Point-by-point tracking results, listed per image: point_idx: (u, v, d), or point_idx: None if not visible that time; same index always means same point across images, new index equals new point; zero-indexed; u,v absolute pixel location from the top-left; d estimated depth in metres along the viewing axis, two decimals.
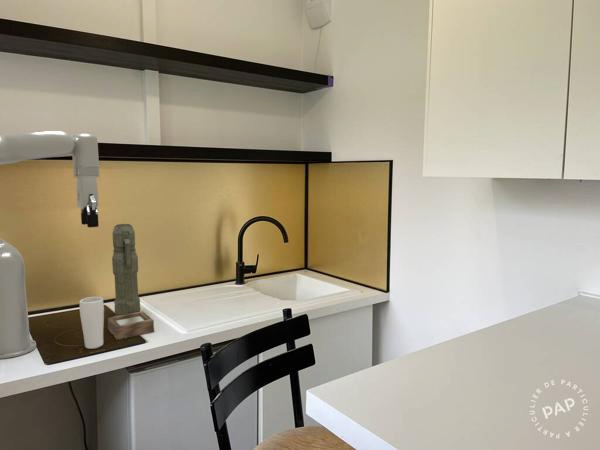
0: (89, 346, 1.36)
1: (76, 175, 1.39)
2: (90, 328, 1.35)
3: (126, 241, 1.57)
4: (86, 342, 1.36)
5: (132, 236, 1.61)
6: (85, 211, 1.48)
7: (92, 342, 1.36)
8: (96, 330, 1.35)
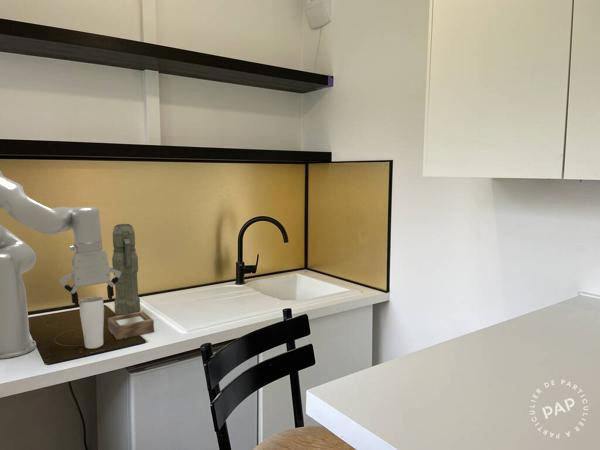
0: (89, 346, 1.36)
1: (97, 250, 1.33)
2: (90, 328, 1.35)
3: (126, 241, 1.57)
4: (86, 342, 1.36)
5: (132, 236, 1.61)
6: (75, 291, 1.33)
7: (92, 342, 1.36)
8: (96, 330, 1.35)
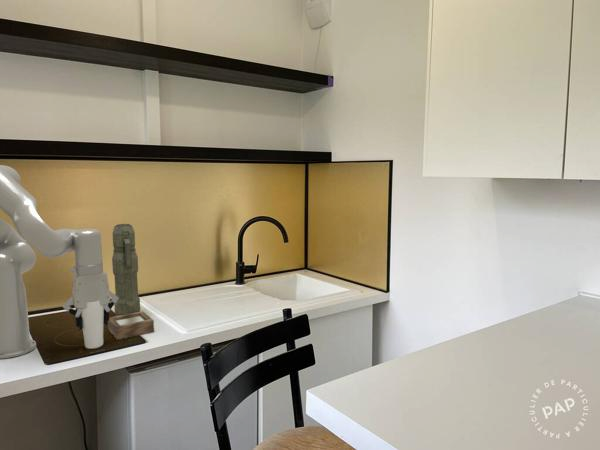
0: (89, 346, 1.36)
1: (98, 273, 1.34)
2: (90, 328, 1.35)
3: (126, 241, 1.57)
4: (86, 342, 1.36)
5: (132, 236, 1.61)
6: None
7: (92, 342, 1.36)
8: (96, 330, 1.35)
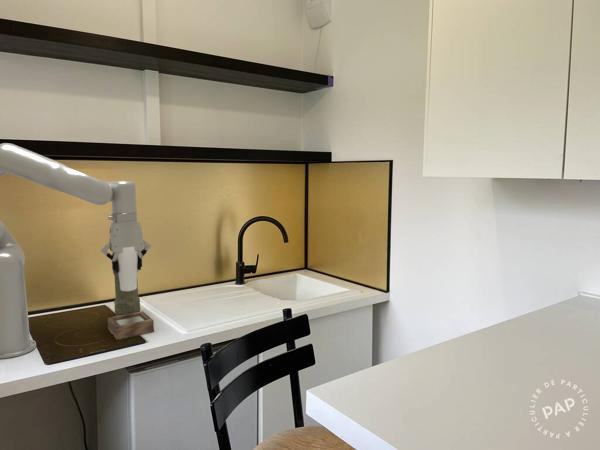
0: (124, 289, 1.47)
1: (133, 220, 1.45)
2: (125, 272, 1.46)
3: None
4: (122, 285, 1.47)
5: None
6: None
7: (127, 285, 1.47)
8: (131, 274, 1.47)
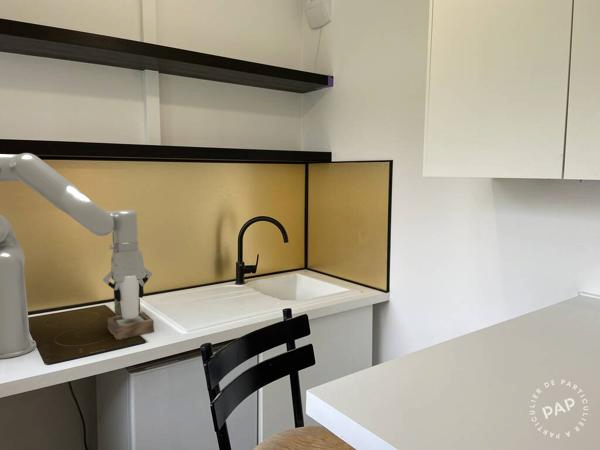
0: (126, 317, 1.48)
1: (134, 250, 1.46)
2: (127, 300, 1.47)
3: None
4: (123, 313, 1.48)
5: None
6: None
7: (129, 313, 1.48)
8: (132, 302, 1.48)
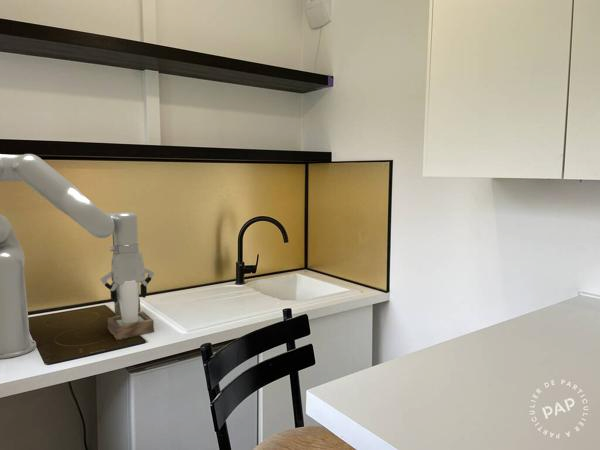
0: (126, 322, 1.48)
1: (134, 252, 1.47)
2: (127, 305, 1.47)
3: None
4: (123, 318, 1.48)
5: None
6: (114, 288, 1.47)
7: (129, 318, 1.48)
8: (132, 307, 1.48)
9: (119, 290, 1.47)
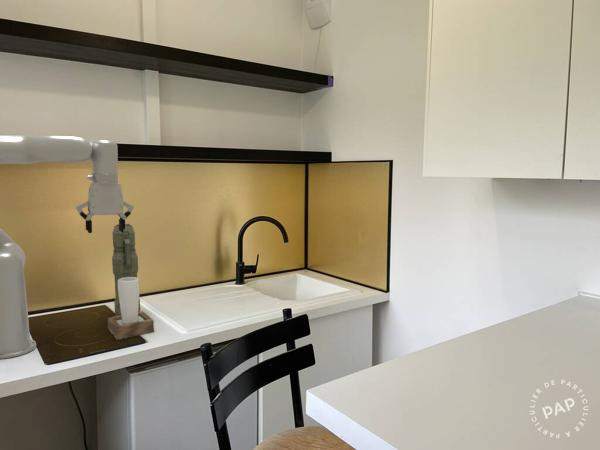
0: (126, 322, 1.48)
1: (113, 182, 1.41)
2: (127, 305, 1.47)
3: (126, 241, 1.57)
4: (123, 318, 1.48)
5: (132, 236, 1.61)
6: None
7: (129, 318, 1.48)
8: (132, 307, 1.48)
9: (119, 290, 1.47)
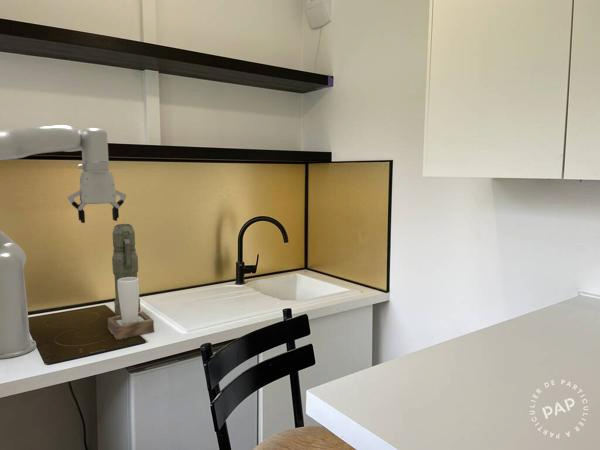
0: (126, 322, 1.48)
1: (104, 170, 1.39)
2: (127, 305, 1.47)
3: (126, 241, 1.57)
4: (123, 318, 1.48)
5: (132, 236, 1.61)
6: (82, 208, 1.39)
7: (129, 318, 1.48)
8: (132, 307, 1.48)
9: (119, 290, 1.47)
